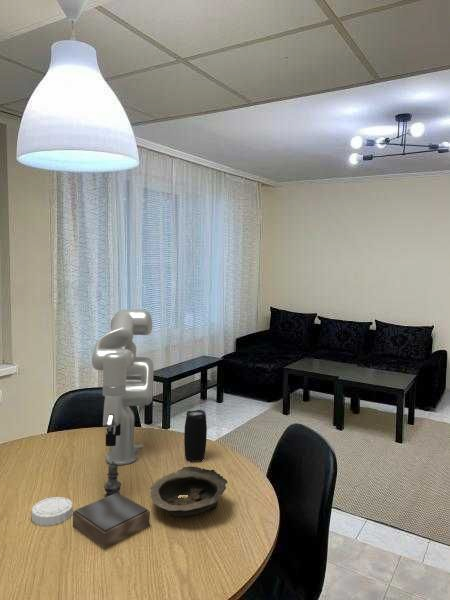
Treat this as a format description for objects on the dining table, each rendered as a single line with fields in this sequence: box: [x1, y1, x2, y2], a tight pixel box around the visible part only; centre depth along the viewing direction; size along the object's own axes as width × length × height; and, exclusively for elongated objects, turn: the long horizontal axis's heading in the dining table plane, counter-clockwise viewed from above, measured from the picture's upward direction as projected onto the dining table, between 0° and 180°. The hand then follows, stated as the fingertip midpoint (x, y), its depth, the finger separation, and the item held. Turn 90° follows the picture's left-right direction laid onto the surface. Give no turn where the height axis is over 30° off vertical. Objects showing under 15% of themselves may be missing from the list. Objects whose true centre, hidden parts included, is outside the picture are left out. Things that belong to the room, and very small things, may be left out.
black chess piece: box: [103, 461, 122, 498], centre depth 151 cm, size 6×6×12 cm
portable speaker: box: [183, 409, 208, 463], centre depth 183 cm, size 9×9×20 cm
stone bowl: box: [149, 465, 228, 517], centre depth 145 cm, size 25×25×9 cm
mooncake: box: [30, 496, 74, 527], centre depth 138 cm, size 12×12×4 cm
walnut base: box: [72, 491, 151, 550], centre depth 133 cm, size 16×16×5 cm
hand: (113, 440), depth 150 cm, fingers open, 9 cm apart
